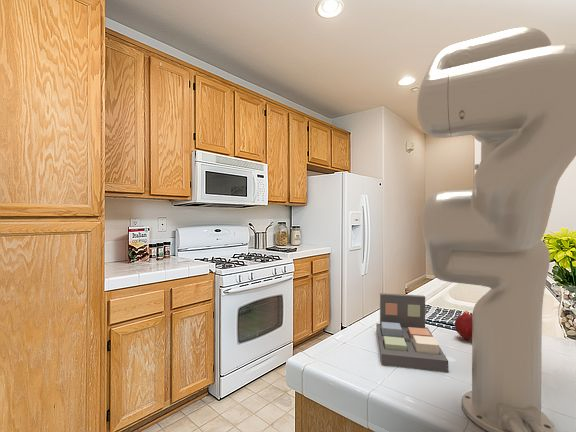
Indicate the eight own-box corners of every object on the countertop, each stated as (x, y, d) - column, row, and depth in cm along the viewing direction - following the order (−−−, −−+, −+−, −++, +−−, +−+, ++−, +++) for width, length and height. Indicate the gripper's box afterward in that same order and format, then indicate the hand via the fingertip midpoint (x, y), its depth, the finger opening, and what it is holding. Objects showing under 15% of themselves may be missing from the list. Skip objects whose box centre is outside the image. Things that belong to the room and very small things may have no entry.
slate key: (401, 339, 79) (401, 329, 79) (382, 337, 80) (382, 328, 80) (399, 332, 83) (399, 323, 83) (381, 330, 84) (381, 321, 84)
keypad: (448, 372, 66) (448, 319, 66) (381, 364, 69) (381, 314, 69) (427, 336, 85) (427, 295, 85) (376, 331, 89) (376, 292, 89)
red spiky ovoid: (483, 344, 80) (484, 314, 80) (462, 344, 80) (462, 314, 80) (471, 335, 86) (471, 307, 86) (450, 335, 86) (450, 307, 86)
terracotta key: (430, 345, 77) (430, 335, 77) (410, 343, 78) (410, 333, 78) (426, 337, 82) (426, 328, 82) (407, 336, 83) (407, 327, 83)
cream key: (439, 356, 69) (439, 345, 69) (416, 353, 70) (416, 343, 70) (434, 347, 74) (434, 337, 74) (413, 345, 75) (413, 335, 75)
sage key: (406, 356, 71) (406, 346, 71) (385, 354, 72) (385, 343, 72) (403, 347, 76) (403, 337, 75) (383, 345, 77) (383, 336, 77)
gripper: (470, 167, 69) (469, 247, 69) (546, 164, 65) (546, 249, 65) (459, 171, 76) (459, 244, 76) (527, 169, 73) (527, 245, 73)
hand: (499, 246), depth 71 cm, fingers closed
